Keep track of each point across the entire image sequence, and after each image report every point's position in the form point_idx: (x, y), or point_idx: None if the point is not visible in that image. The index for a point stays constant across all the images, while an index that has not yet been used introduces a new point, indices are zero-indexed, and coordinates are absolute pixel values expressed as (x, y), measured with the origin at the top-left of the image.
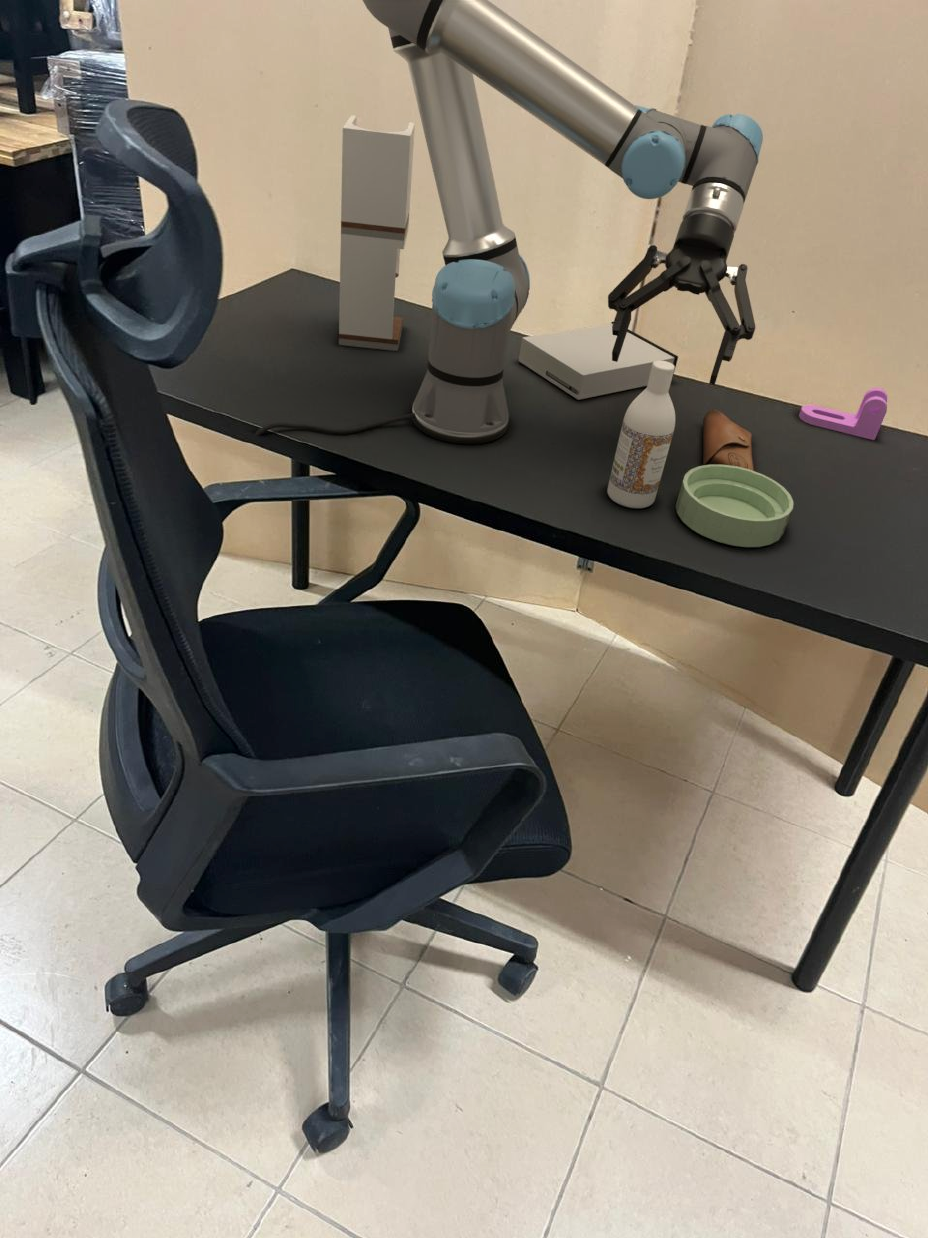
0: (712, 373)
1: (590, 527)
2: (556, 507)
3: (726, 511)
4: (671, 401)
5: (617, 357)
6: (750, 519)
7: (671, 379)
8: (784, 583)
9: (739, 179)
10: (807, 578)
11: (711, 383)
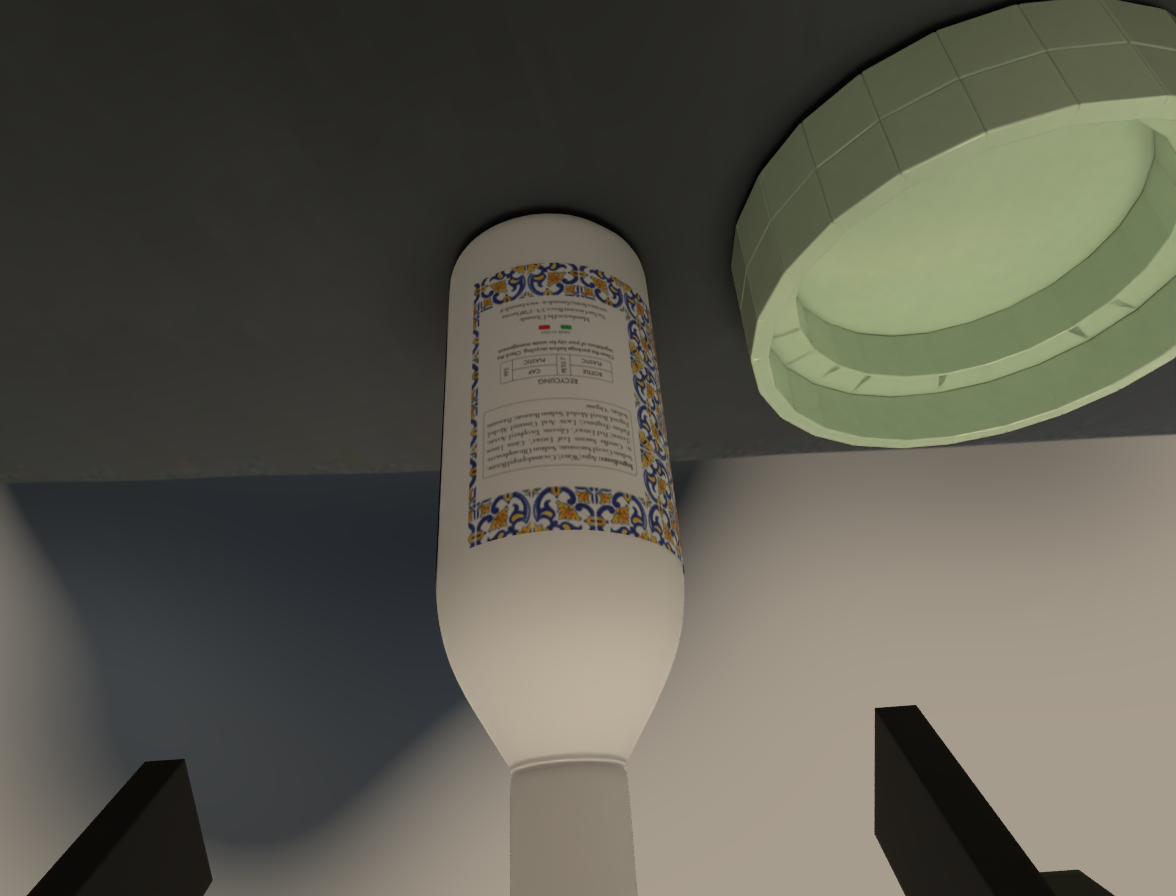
0: (884, 843)
1: None
2: (369, 422)
3: (954, 192)
4: (649, 709)
5: (196, 817)
6: (990, 433)
7: (633, 851)
8: None
9: None
10: None
11: (891, 715)
